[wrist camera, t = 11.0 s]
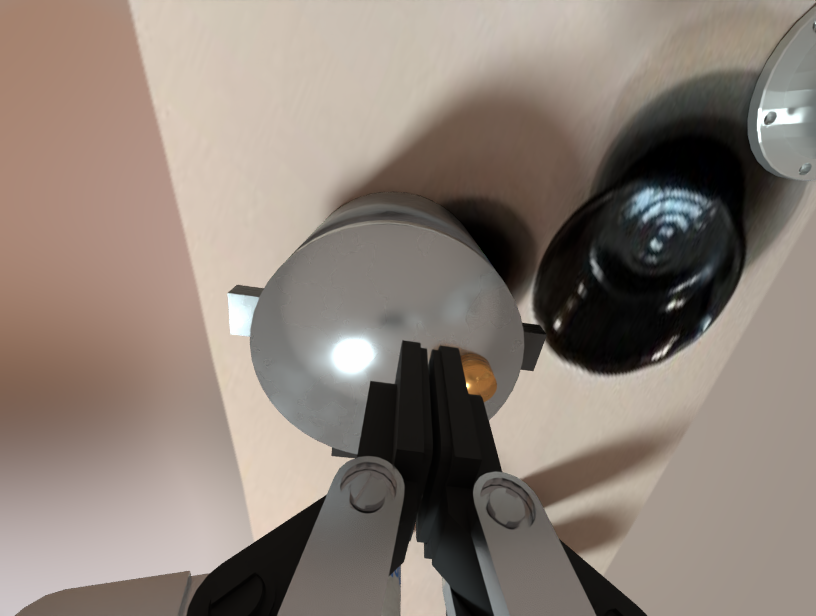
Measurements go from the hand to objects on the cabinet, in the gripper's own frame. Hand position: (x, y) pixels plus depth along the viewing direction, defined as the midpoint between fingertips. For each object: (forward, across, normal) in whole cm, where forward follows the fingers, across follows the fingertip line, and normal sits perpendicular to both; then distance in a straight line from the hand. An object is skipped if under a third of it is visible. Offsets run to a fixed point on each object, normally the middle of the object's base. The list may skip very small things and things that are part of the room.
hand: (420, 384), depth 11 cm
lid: (+10, +1, +5) cm, 11 cm away
